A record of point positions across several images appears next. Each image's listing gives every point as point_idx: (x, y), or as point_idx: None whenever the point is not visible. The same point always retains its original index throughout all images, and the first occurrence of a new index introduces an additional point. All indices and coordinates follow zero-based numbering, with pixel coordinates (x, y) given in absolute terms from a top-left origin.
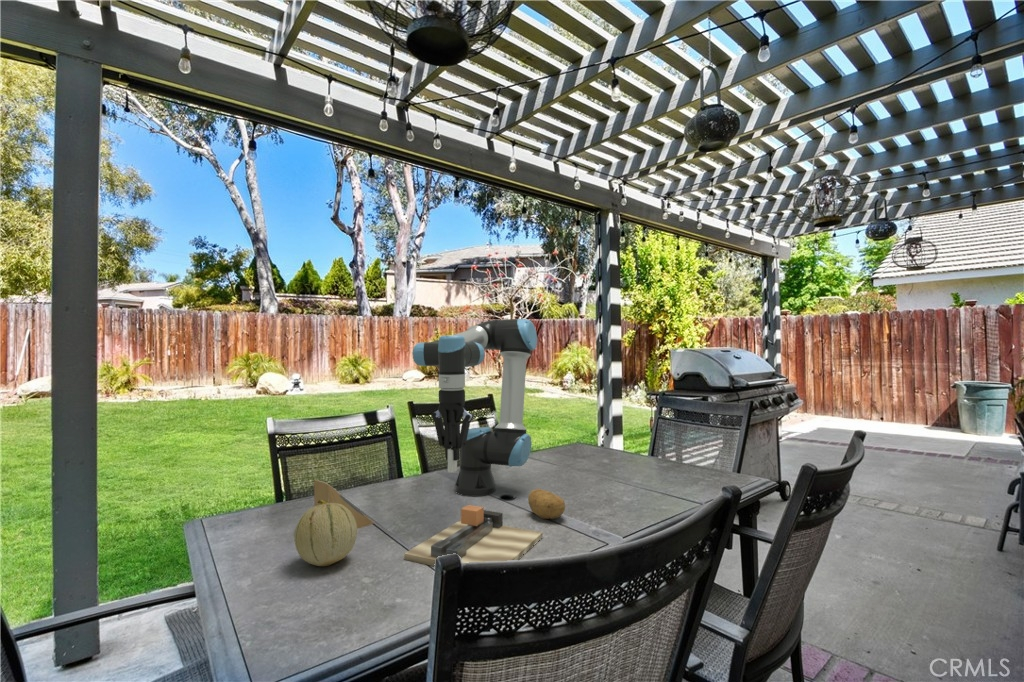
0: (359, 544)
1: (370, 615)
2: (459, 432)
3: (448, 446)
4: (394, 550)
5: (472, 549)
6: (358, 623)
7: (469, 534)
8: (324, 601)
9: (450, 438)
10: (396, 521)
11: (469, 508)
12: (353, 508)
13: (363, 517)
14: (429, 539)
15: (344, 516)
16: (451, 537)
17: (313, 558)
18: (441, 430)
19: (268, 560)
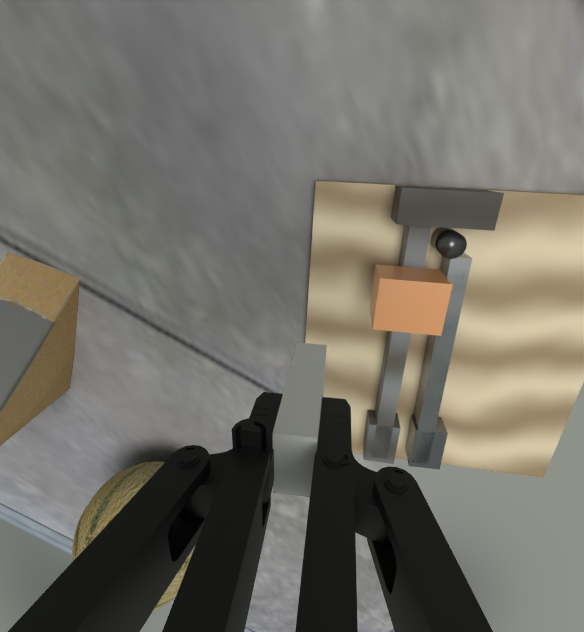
0: (159, 401)
1: (364, 581)
2: (354, 611)
3: (269, 500)
4: (250, 406)
5: (446, 389)
6: (360, 595)
7: (431, 375)
8: (276, 566)
9: (254, 537)
10: (118, 244)
11: (401, 314)
12: (31, 362)
13: (59, 320)
14: None
15: (175, 581)
16: (389, 406)
17: None
18: (120, 628)
19: (81, 493)
